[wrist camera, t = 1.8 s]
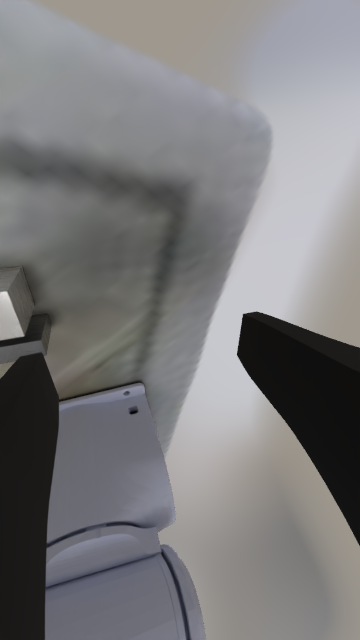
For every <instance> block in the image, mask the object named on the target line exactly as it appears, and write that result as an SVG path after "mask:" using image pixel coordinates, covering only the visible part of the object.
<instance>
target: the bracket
mask: <svg viewBox="0 0 360 640" xmlns="http://www.w3.org/2000/svg"><path fill="white" fill-rule="evenodd" d="M50 332H51V325H50V321H49V318H48V315H47V314H41V315H34V316H31V318H30V321H29V324H28V327H27V330H26V333H25V336H23V337H17V338H11V339H5V340H0V364H2V363H8V362H13V361H16V360H17V359H18V358H19V357H20V356H25V355H30V354H35V353H40V352H42V354H43V356H45V355H46V354H47V349H48V343H49V337H50Z"/></svg>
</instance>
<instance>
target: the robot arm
mask: <svg viewBox="0 0 360 640" xmlns="http://www.w3.org/2000/svg"><path fill="white" fill-rule="evenodd" d="M237 356H238V357H239V359H240V361H241V363H242V365H243V366H244V368H245V370H246V371H247V373H248V375H249V376H250V377H251V379H252V380H253V381H254V383H255V384H256V385H257V386H258V388H259V389H260V390H261V391H262V393H263V394H264V395H265V396H266V398H267V399H268V400H269V402H270V403H271V404H272V405H273V407H274V408H275V409H276V410H277V412H278V413H279V414H280V415H281V416H282V418H283V419H284V420H285V421H286V423H287V424H288V426H289V427H290V428H291V430H292V431H293V432H294V434H295V435H296V437H297V439H298V440H299V442H300V443H301V445H302V446H303V448H304V449H305V451H306V452H307V454H308V456H309V457H310V459H311V460H312V462H313V463H314V465H315V467H316V469H317V470H318V472H319V473H320V475H321V477H322V478H323V480H324V482H325V483H326V485H327V487H328V489H329V490H330V492H331V494H332V496H333V497H334V499H335V501H336V503H337V504H338V506H339V508H340V510H341V512H342V513H343V515H344V517H345V519H346V521H347V522H348V524H349V526H350V528H351V530H352V532H353V534H354V536H355V538H356V540H357V542H358V543H359V545H360V348H359V347H355V346H352V345H349V344H346V343H343V342H340V341H337V340H334V339H331V338H328V337H325V336H323V335H320V334H317V333H314V332H312V331H309V330H307V329H304V328H301V327H299V326H296V325H293V324H291V323H288V322H286V321H283V320H280V319H278V318H275V317H272V316H269V315H267V314H263V313H260V312H252V313H247V314H243V318H242V325H241V331H240V338H239V345H238V351H237ZM126 391H128V392H126ZM175 517H176V516H175V507H174V500H173V495H172V489H171V485H170V480H169V476H168V472H167V468H166V464H165V460H164V456H163V453H162V449H161V446H160V442H159V439H158V433H157V429H156V425H155V422H154V421H153V418H152V415H151V412H150V408H149V405H148V402H147V398H146V395H145V388H144V385H143V384H142V383H136V384H132V385H128V386H124V387H120V388H115V389H111V390H107V391H103V392H99V393H95V394H91V395H86V396H82V397H78V398H74V399H70V400H66V401H61V402H59V396H58V394H57V391H56V388H55V386H54V383H53V380H52V378H51V375H50V372H49V370H48V367H47V364H46V362H45V359H44V356H43V354H42V352H40V353H35V354H30V355H25V356H20V357H19V358H18V359H17V360H16V362H15V363H14V364H13V365H12V366H11V367H10V368H9V370H8V371H7V372H6V373H5V374H4V375H3V377H2V378H1V379H0V640H206V635H205V628H204V622H203V617H202V612H201V608H200V604H199V600H198V596H197V593H196V590H195V587H194V584H193V581H192V579H191V576H190V574H189V572H188V570H187V568H186V566H185V565H184V563H183V561H182V560H181V559H180V558H179V557H178V555H177V553H176V552H175V551H174V550H173V549H172V548H171V547H170V546H168V545H165V544H163V545H160V543H159V538H158V534H157V533H158V532H159V531H161V530H162V529H164V528H166V527H168V526H170V525H172V524H173V523H174V522H175V520H176V518H175Z"/></svg>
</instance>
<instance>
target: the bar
mask: <svg viewBox="0 0 360 640" xmlns="http://www.w3.org/2000/svg"><path fill="white" fill-rule="evenodd" d="M34 306H35V304H34V301H33V298H32V295H31V292H30V289H29V286H28V283H27V280H26V277H25V274H24V271H23V268H22V266H21V267H11V268H0V340H5V339H11V338H17V337H23V336H25V333H26V330H27V327H28V324H29V321H30V318H31V315H32V312H33V309H34Z"/></svg>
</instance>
